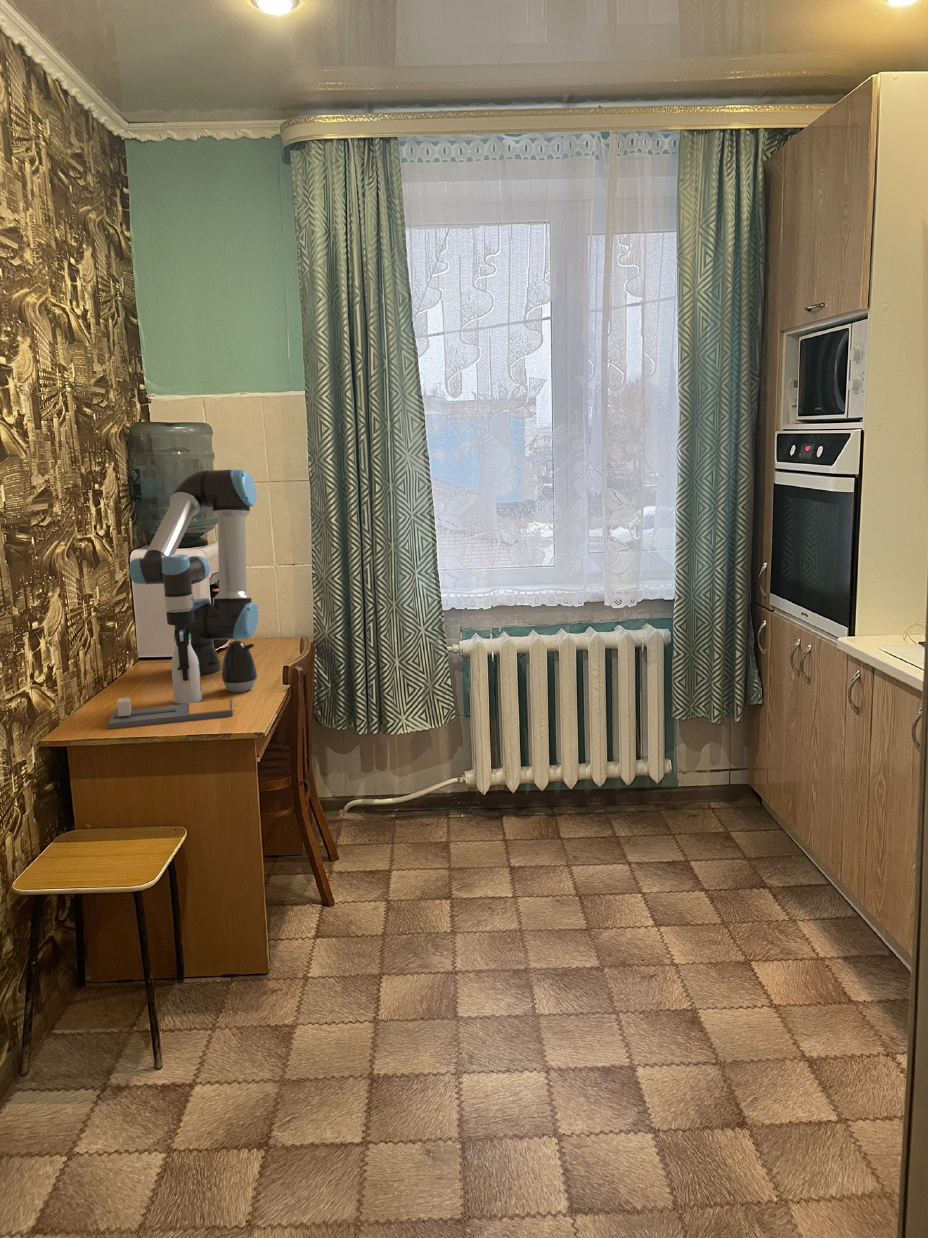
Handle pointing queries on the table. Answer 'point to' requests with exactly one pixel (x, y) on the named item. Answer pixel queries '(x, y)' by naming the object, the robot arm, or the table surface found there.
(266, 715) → the table surface
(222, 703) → the board
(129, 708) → the handle
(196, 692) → the milk bottle
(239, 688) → the pump dispenser
